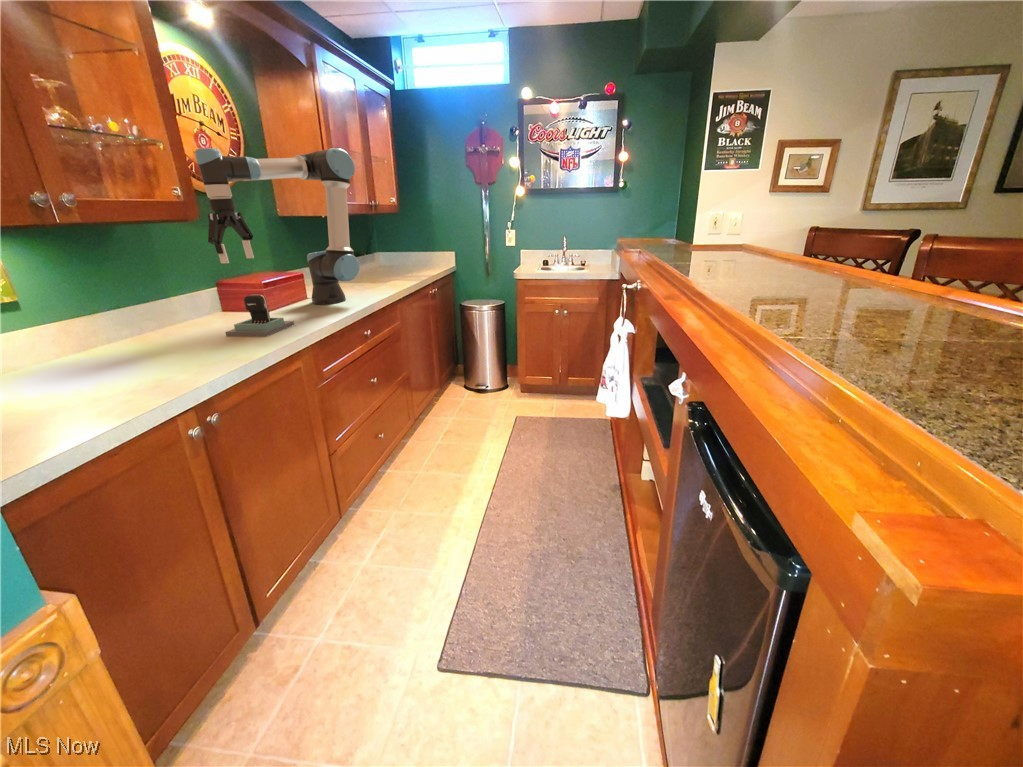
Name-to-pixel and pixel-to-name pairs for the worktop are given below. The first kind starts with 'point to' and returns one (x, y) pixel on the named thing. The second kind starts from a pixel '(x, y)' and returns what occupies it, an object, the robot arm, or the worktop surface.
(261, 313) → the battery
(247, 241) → the robot arm
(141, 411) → the worktop surface
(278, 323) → the dock
